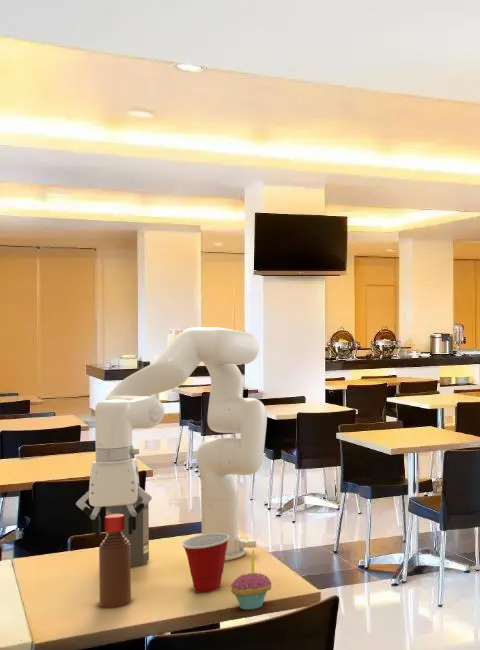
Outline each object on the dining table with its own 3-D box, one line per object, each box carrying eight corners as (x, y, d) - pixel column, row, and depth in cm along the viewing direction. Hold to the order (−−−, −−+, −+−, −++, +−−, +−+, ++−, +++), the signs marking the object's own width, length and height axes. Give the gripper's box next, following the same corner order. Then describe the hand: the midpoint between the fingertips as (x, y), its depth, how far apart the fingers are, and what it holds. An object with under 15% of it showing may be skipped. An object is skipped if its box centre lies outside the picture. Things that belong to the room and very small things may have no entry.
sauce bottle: (133, 597, 200) (132, 514, 200) (128, 606, 194) (127, 520, 194) (102, 599, 199) (102, 516, 199) (96, 608, 193) (96, 522, 193)
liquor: (113, 571, 221) (112, 452, 221) (104, 563, 228) (103, 448, 229) (151, 564, 227) (150, 449, 227) (140, 556, 234) (139, 445, 234)
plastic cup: (175, 587, 207) (175, 537, 207) (221, 579, 214) (220, 530, 214) (190, 599, 198) (189, 546, 198) (237, 589, 205) (236, 538, 205)
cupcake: (236, 600, 197) (236, 547, 197) (274, 599, 198) (274, 546, 198) (227, 613, 189) (227, 558, 189) (267, 612, 189) (267, 556, 189)
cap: (104, 533, 194) (103, 518, 194) (105, 528, 198) (105, 514, 198) (123, 531, 195) (123, 517, 195) (125, 527, 199) (124, 513, 199)
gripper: (156, 450, 203) (157, 527, 203) (75, 454, 198) (75, 533, 198) (153, 455, 196) (154, 535, 195) (68, 459, 191) (69, 541, 190)
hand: (114, 533), depth 197 cm, fingers open, 6 cm apart
